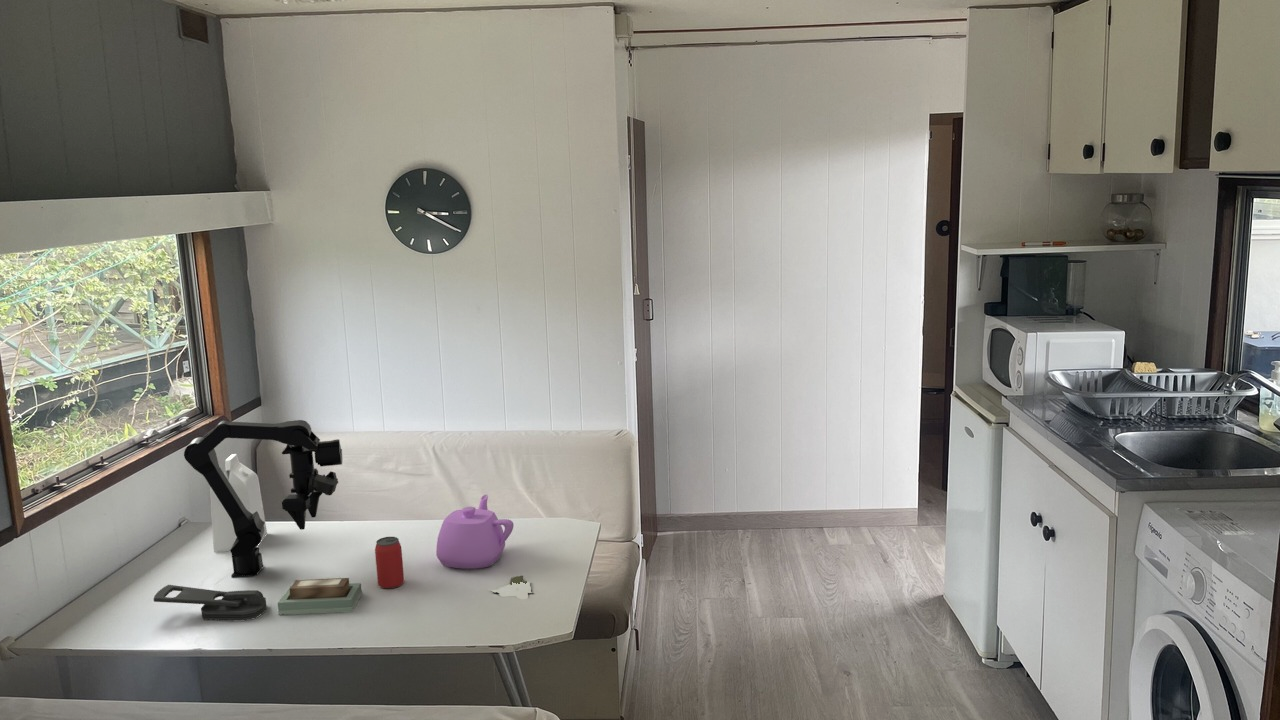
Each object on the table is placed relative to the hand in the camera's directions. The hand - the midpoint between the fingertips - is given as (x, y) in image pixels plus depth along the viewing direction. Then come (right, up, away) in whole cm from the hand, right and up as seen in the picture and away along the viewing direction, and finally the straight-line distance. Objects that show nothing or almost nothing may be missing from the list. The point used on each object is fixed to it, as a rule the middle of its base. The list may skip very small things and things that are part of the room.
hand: (308, 523), depth 256 cm
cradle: (+11, -16, -22) cm, 30 cm away
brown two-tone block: (+11, -15, -22) cm, 29 cm away
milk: (-27, -9, +20) cm, 34 cm away
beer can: (+26, -14, -12) cm, 31 cm away
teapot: (+44, -11, +2) cm, 45 cm away
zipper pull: (-14, -18, -26) cm, 34 cm away
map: (+58, -15, -20) cm, 63 cm away
